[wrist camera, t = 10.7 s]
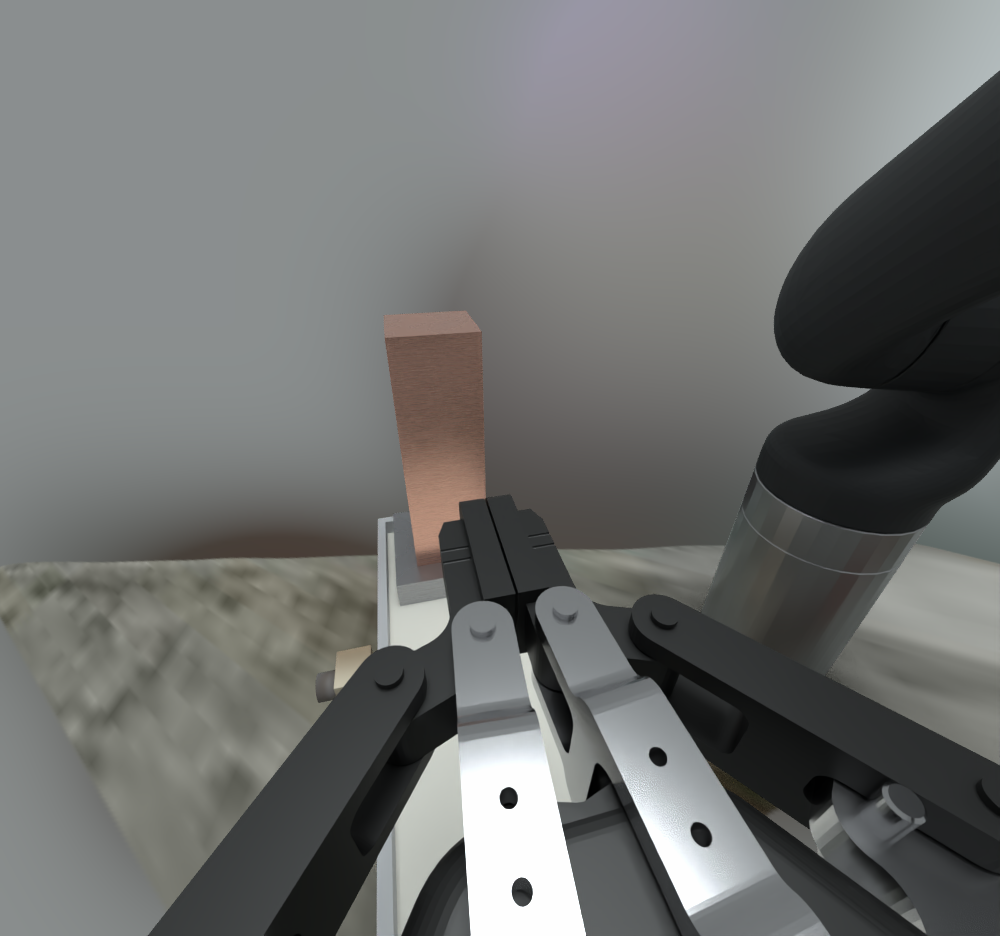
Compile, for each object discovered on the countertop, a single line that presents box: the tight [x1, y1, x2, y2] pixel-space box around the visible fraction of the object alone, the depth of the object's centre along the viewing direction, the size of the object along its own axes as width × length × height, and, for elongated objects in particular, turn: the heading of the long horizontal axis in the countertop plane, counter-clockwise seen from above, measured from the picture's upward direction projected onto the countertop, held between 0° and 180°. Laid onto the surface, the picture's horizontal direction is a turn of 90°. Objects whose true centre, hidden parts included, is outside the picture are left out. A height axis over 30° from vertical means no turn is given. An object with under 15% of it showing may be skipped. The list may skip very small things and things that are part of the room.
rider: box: [384, 311, 486, 606], centre depth 29 cm, size 8×8×18 cm
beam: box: [377, 517, 572, 936], centre depth 27 cm, size 26×10×3 cm, turn 13°
